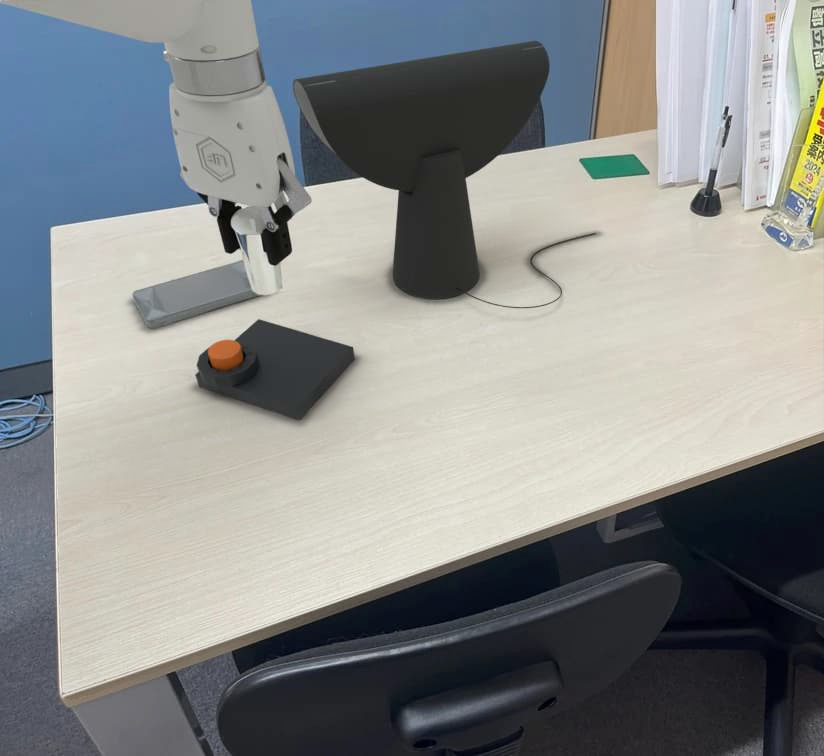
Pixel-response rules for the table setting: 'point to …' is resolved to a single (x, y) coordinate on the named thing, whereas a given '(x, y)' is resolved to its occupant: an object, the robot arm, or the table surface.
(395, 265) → the table lamp
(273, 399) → the dark grey flat block
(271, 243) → the robot arm
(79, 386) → the table surface
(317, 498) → the table surface
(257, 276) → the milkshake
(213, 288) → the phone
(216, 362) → the button
